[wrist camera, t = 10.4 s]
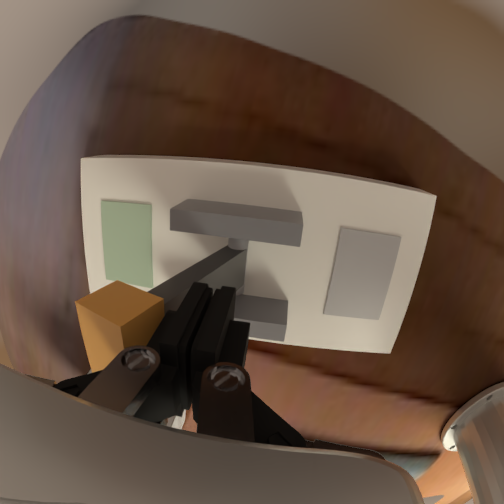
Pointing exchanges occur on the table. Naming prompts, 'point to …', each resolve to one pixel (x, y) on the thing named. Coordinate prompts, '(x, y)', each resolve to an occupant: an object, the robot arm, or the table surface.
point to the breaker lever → (150, 303)
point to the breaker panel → (264, 241)
